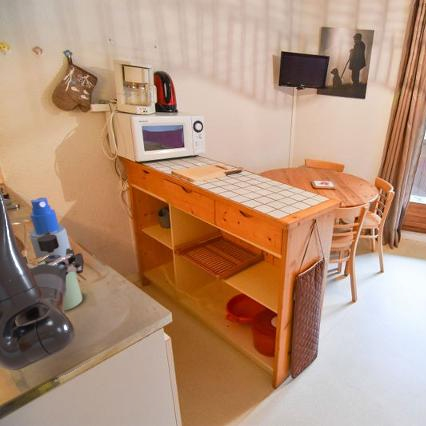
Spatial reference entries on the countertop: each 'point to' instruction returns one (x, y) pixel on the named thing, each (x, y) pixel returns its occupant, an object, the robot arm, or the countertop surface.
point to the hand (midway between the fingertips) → (47, 255)
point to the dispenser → (68, 286)
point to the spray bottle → (47, 228)
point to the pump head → (48, 242)
